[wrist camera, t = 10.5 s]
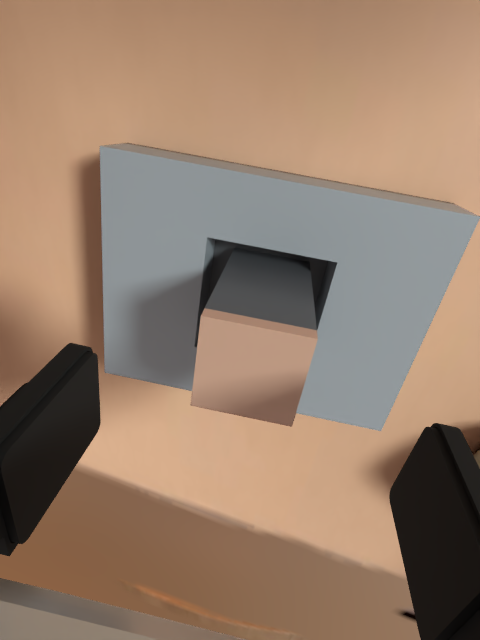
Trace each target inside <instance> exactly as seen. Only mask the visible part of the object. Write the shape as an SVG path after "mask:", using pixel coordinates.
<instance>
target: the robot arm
mask: <svg viewBox="0 0 480 640" xmlns="http://www.w3.org/2000/svg"><path fill="white" fill-rule="evenodd" d="M99 426H100V400H99V378H98V358H97V354H95V353H93V352H92V349H91V348H90V347H87V346H82V345H78V344H73V343H69V344H68V345H66V346H65V347H64V348H63V349H62V350H61V351H60V352H59V353H58V354H57V355H56V356H55V357H54V358H53V359H52V360H51V361H50V362H49V363H48V364H47V365H46V366H45V367H44V368H43V369H42V370H41V371H40V372H39V373H38V374H37V375H36V376H35V377H34V378H32V379H31V380H30V381H29V382H28V383H25V384H24V385H23V386H21V387H20V388H19V389H18V390H17V391H16V392H15V393H14V394H13V395H12V396H11V397H10V398H9V399H8V400H7V401H6V402H4V403H3V404H2V405H1V406H0V554H2V555H7V556H10V555H11V553H12V552H13V550H14V549H15V547H16V546H17V544H18V543H19V544H23V543H24V542H26V540H27V539H28V538H29V537H30V535H31V534H32V532H33V530H34V529H35V527H36V526H37V524H38V523H39V521H40V520H41V518H42V517H43V515H44V514H45V512H46V510H47V509H48V507H49V506H50V504H51V503H52V501H53V500H54V498H55V497H56V495H57V494H58V492H59V490H60V489H61V487H62V486H63V484H64V483H65V481H66V480H67V478H68V477H69V475H70V474H71V472H72V471H73V469H74V467H75V466H76V464H77V463H78V461H79V460H80V458H81V457H82V455H83V454H84V452H85V451H86V449H87V447H88V446H89V444H90V443H91V441H92V440H93V438H94V437H95V435H96V434H97V432H98V429H99ZM390 504H391V509H392V513H393V518H394V522H395V527H396V531H397V536H398V540H399V545H400V549H401V554H402V558H403V563H404V567H405V572H406V576H407V581H408V585H409V590H410V594H411V598H412V603H413V608H414V612H415V617H416V621H417V626H418V630H419V634H420V638H421V640H480V468H479V466H478V464H477V462H476V460H475V458H474V456H473V454H472V452H471V450H470V448H469V446H468V444H467V442H466V440H465V438H464V436H463V434H462V432H461V430H460V429H458V428H456V427H452V426H447V425H443V424H438V423H435V424H433V425H432V426H431V427H426V428H425V429H424V430H423V432H422V434H421V436H420V437H419V439H418V441H417V443H416V445H415V446H414V448H413V450H412V452H411V453H410V455H409V457H408V459H407V461H406V462H405V464H404V466H403V468H402V470H401V471H400V473H399V475H398V477H397V478H396V480H395V482H394V484H393V486H392V487H391V490H390ZM0 640H246V639H242V638H238V637H234V636H231V635H227V634H223V633H219V632H215V631H211V630H207V629H203V628H199V627H196V626H192V625H188V624H184V623H180V622H176V621H172V620H168V619H164V618H160V617H156V616H153V615H148V614H145V613H141V612H136V611H133V610H129V609H125V608H121V607H116V606H113V605H109V604H104V603H101V602H97V601H93V600H89V599H85V598H81V597H77V596H73V595H69V594H65V593H61V592H57V591H53V590H49V589H45V588H40V587H36V586H31V585H28V584H23V583H19V582H14V581H10V580H6V579H2V578H0Z"/></svg>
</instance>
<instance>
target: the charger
mask: <svg viewBox="0 0 480 640" xmlns="http://www.w3.org/2000/svg"><path fill="white" fill-rule="evenodd" d="M317 340H318V335H317V326H316V317H315V307H314V298H313V288H312V279H311V269H310V262H309V261H304V260H298V259H293V258H288V257H283V256H277V255H272V254H267V253H261V252H256V251H251V250H246V249H240V248H234V250H233V252H232V254H231V256H230V258H229V260H228V262H227V264H226V266H225V268H224V270H223V272H222V274H221V276H220V278H219V280H218V282H217V284H216V286H215V288H214V290H213V292H212V294H211V296H210V298H209V300H208V302H207V304H206V306H205V308H204V310H203V312H202V314H201V319H200V327H199V336H198V345H197V354H196V362H195V371H194V380H193V388H192V397H191V406H196V407H200V408H205V409H210V410H215V411H220V412H224V413H229V414H234V415H239V416H243V417H248V418H253V419H258V420H263V421H267V422H272V423H277V424H282V425H286V426H291V427H292V425H293V421H294V418H295V414H296V411H297V408H298V404H299V401H300V398H301V394H302V391H303V388H304V384H305V381H306V377H307V374H308V371H309V367H310V364H311V361H312V357H313V354H314V350H315V347H316V344H317Z"/></svg>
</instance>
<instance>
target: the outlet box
mask: <svg viewBox="0 0 480 640" xmlns="http://www.w3.org/2000/svg"><path fill="white" fill-rule="evenodd" d="M100 177H101V224H102V270H103V317H104V364H105V373H109V374H114V375H119V376H124V377H128V378H133V379H138V380H142V381H147V382H152V383H157V384H161V385H166V386H171V387H175V388H180V389H185V390H190V391H192V388H193V380H194V371H195V362H196V354H197V345H198V336H199V327H200V319H201V314H202V312H203V310H204V308H205V306H206V304H207V302H208V300H209V298H210V296H211V294H212V292H213V290H214V288H215V286H216V284H217V282H218V280H219V278H220V276H221V274H222V272H223V270H224V268H225V266H226V264H227V262H228V260H229V258H230V256H231V254H232V252H233V250H234V248H240V249H246V250H251V251H256V252H261V253H267V254H272V255H277V256H283V257H288V258H293V259H298V260H304V261H309V262H310V269H311V279H312V288H313V298H314V307H315V317H316V326H317V335H318V340H317V344H316V347H315V350H314V354H313V357H312V361H311V364H310V367H309V371H308V374H307V377H306V381H305V384H304V388H303V391H302V394H301V398H300V401H299V404H298V408H297V411H296V413H298V414H303V415H308V416H312V417H317V418H322V419H326V420H331V421H336V422H341V423H345V424H350V425H355V426H359V427H364V428H369V429H374V430H378V431H381V430H382V428H383V426H384V423H385V421H386V419H387V417H388V415H389V413H390V410H391V408H392V406H393V404H394V402H395V400H396V398H397V395H398V393H399V391H400V389H401V387H402V385H403V382H404V380H405V378H406V376H407V374H408V372H409V369H410V367H411V365H412V363H413V361H414V359H415V357H416V354H417V352H418V350H419V348H420V346H421V344H422V341H423V339H424V337H425V335H426V333H427V331H428V329H429V326H430V324H431V322H432V320H433V318H434V316H435V313H436V311H437V309H438V307H439V305H440V303H441V300H442V298H443V296H444V294H445V292H446V290H447V288H448V285H449V283H450V281H451V279H452V277H453V275H454V272H455V270H456V268H457V266H458V264H459V262H460V260H461V257H462V255H463V253H464V251H465V249H466V247H467V244H468V242H469V240H470V238H471V236H472V234H473V231H474V229H475V227H476V225H477V223H478V221H479V219H480V216H478V215H476V214H474V213H472V212H470V211H468V210H466V209H464V208H462V207H460V206H458V205H456V204H454V203H449V202H444V201H439V200H433V199H428V198H422V197H417V196H412V195H406V194H401V193H395V192H390V191H385V190H379V189H374V188H368V187H363V186H358V185H352V184H347V183H341V182H336V181H331V180H325V179H320V178H314V177H309V176H304V175H298V174H293V173H288V172H282V171H277V170H271V169H266V168H261V167H255V166H250V165H244V164H239V163H234V162H228V161H223V160H217V159H212V158H207V157H201V156H196V155H190V154H185V153H180V152H174V151H169V150H163V149H158V148H153V147H147V146H142V145H136V144H131V143H122V144H113V145H104V146H100Z"/></svg>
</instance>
